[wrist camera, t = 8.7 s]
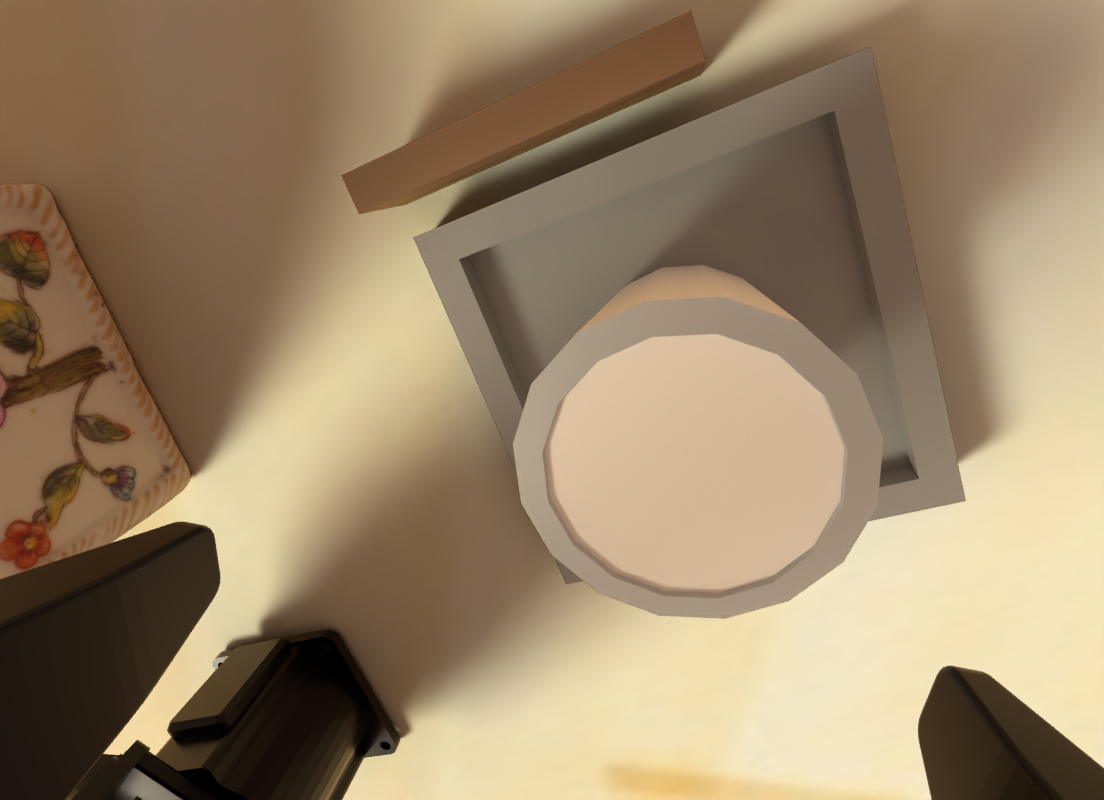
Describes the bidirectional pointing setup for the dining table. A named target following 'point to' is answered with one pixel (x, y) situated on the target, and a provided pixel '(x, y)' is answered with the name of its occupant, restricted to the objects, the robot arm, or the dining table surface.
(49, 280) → the decorative jar
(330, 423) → the dining table surface
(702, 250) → the tray
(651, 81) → the wooden pieces
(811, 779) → the dining table surface
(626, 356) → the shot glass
